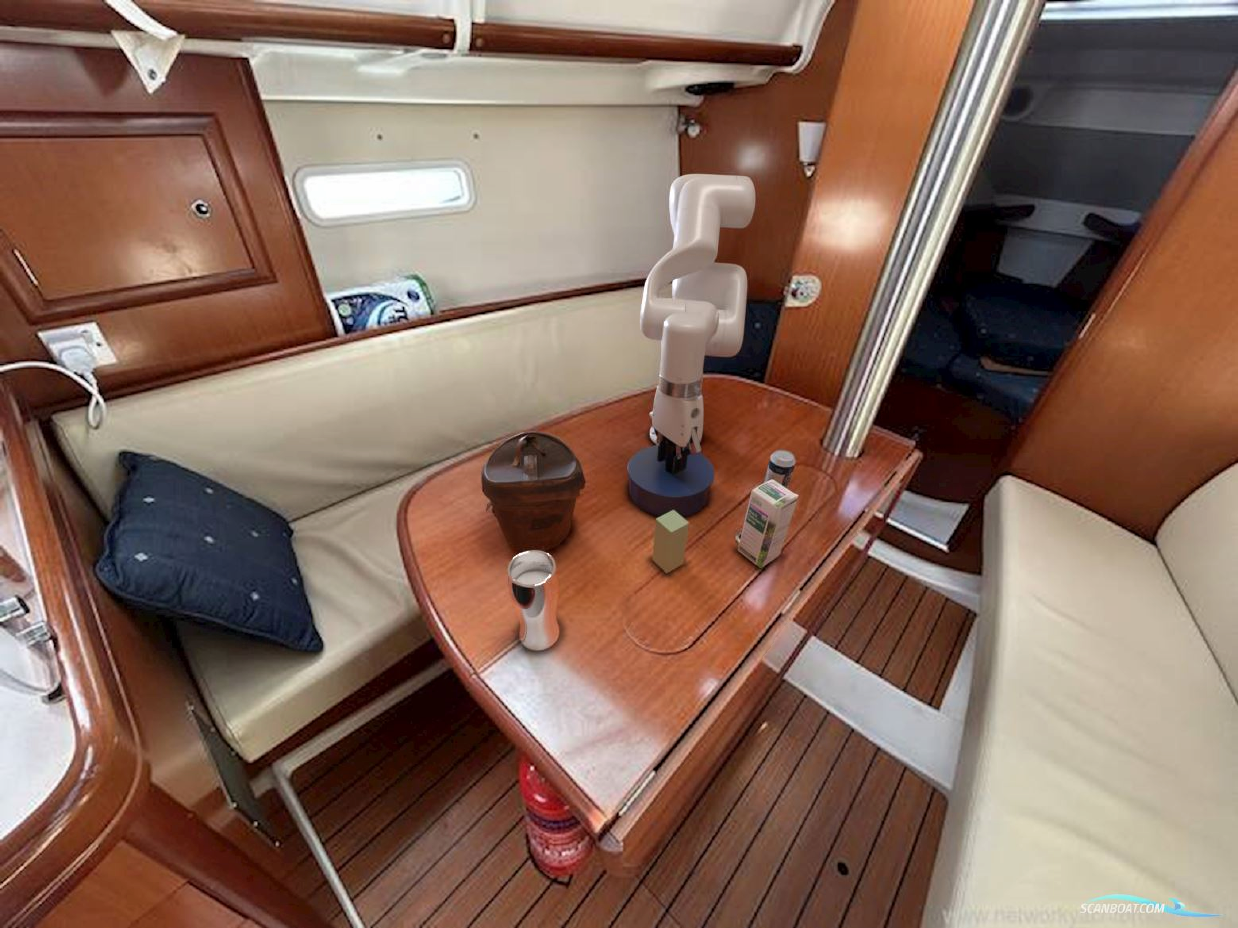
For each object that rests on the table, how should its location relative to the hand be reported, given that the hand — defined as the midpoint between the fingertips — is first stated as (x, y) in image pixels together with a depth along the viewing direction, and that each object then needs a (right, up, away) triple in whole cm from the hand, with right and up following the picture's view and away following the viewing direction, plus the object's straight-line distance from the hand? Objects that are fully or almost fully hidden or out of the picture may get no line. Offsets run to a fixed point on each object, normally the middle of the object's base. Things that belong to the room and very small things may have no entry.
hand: (671, 464), depth 102 cm
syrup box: (+15, -16, -10) cm, 24 cm away
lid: (0, -1, +1) cm, 2 cm away
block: (-2, -17, -12) cm, 21 cm away
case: (-26, -12, -5) cm, 30 cm away
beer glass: (-23, -26, -24) cm, 42 cm away
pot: (0, -6, +4) cm, 7 cm away
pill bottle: (+21, -8, +2) cm, 22 cm away
